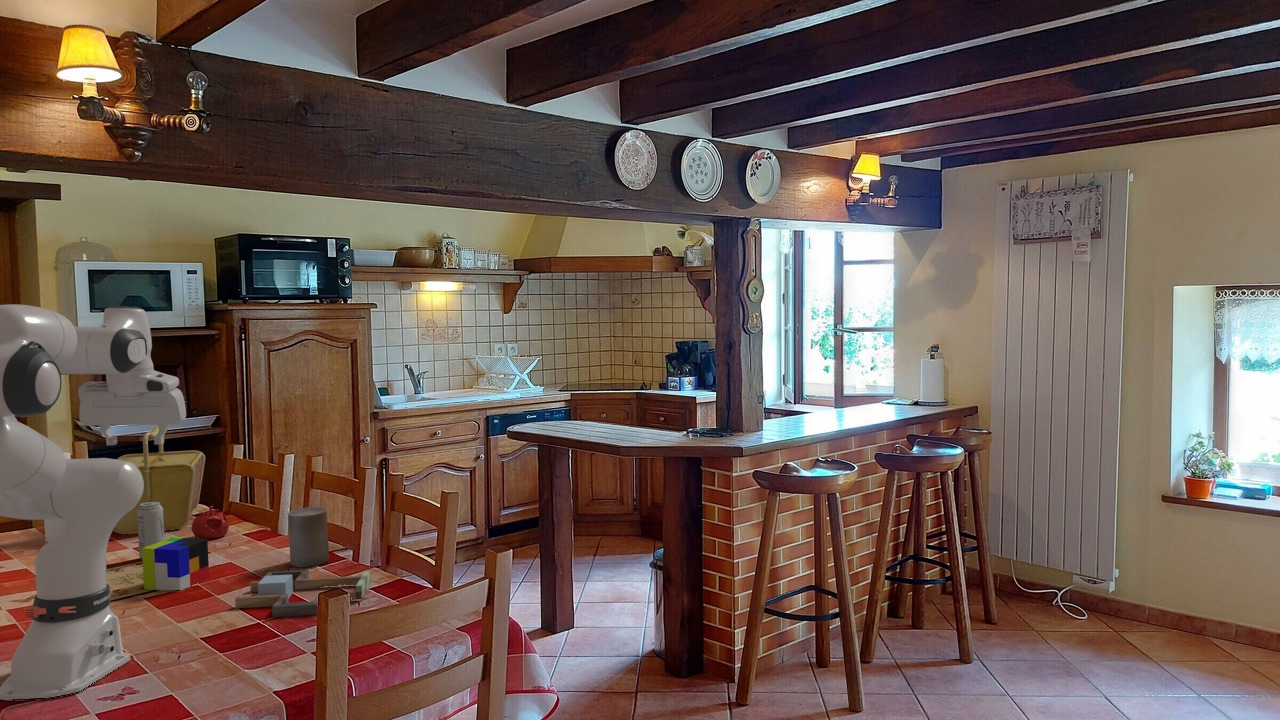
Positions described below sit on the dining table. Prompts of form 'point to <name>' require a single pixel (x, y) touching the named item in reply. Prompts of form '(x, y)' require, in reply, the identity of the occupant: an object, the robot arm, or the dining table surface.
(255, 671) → the dining table surface
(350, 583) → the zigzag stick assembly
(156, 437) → the robot arm
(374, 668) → the dining table surface
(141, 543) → the energy drink can
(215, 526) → the pomegranate
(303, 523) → the pillar candle
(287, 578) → the block
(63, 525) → the cylindrical container
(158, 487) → the picnic basket
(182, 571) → the puzzle toy
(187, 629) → the dining table surface
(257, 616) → the dining table surface
